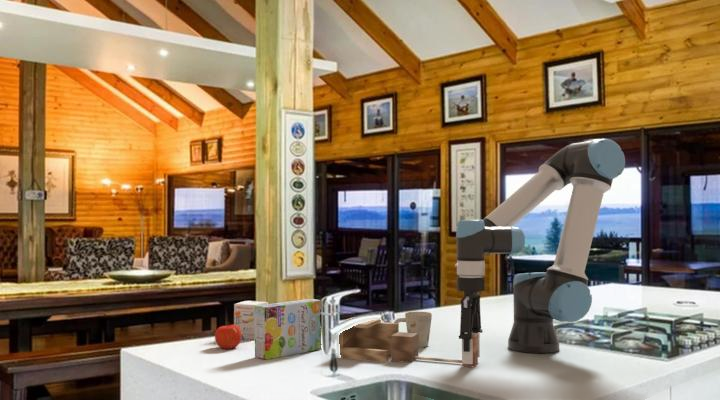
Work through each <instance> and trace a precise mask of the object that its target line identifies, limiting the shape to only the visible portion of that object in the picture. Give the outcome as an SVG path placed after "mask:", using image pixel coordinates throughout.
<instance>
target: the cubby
mask: <svg viewBox="0 0 720 400" xmlns="http://www.w3.org/2000/svg"><path fill="white" fill-rule="evenodd" d="M352 318H355V317H354V316H353V317H349V318H346V319H345V320H349V319H352ZM376 319H377V320H371V321H368V322H365V323H361V324H358V325H356V326H353V327H352V328H350V329H348V330H345V331H343V332H342V333H340V335H339V344H340V355H341V358H340V359H344V358H345V359H346V360H356V361H357V360H358V361H368V362H369V361H370V362H378V363H387V362H388V361H389V356H391V335H393V334H395V333H397V332H400V330H399V327H400V326H399V325H400V322H399V323H394V322H383V321H382V319H381V318H376ZM380 319H381V320H380ZM345 320H343V321H345Z"/></svg>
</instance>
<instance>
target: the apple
mask: <svg viewBox="0 0 720 400" xmlns="http://www.w3.org/2000/svg"><path fill="white" fill-rule="evenodd" d="M241 337H242V333H241V330H240V328H239V327H238V326H237V325H234V324H230V321H228V322H227V325H222V326H219V327H218V328H217V329H216V330H215V334H214V340H215V343H216V345H217V346H218V347H219V348H221V349H224V350H229V349H231V350H232V349H235V348H237V347H238V346H239V345H240V343H241V341H242V339H241Z"/></svg>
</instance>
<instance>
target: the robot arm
mask: <svg viewBox="0 0 720 400" xmlns="http://www.w3.org/2000/svg"><path fill="white" fill-rule="evenodd" d="M625 157H626V156H625V154H624V151H622V148H621V146H620V145H619V144H618V143H617V142H616V141H614V140H612V139H609V138H595V139H592V140H589V141H588V140H587V141H582V142H574V143H570V144H568V145H565V147H563V148H561V149H560V150H558V151H556V152H555V153H554V154H553V155H552V156H551V157H549V158H548V159H547V160H546V161H544V162H543V163H542V164H541V165H540V166H539V167H538V172H536V173H535V174H534V175H533V176H532V177H531V178H530V179H528V180H527V181H526V182H525V183H524V184H523V185H521V186H520V187H519V188H518V189H517V190H516V191H514V192H513V193H512V194H511V195H509V196H508V197H507V198H506V199H505V200H504V201H502V203H500V204H499V205H498V206H497V207H496V208H494V210H492V211H491V212H490V213H489V214H488V215H487V216H485V217H484V218H483V219H460V220H458V221H457V223H456V234H455V238H456V263H455V264H454V267H456V275H457V277H456V289H457V291H459V292H464V294H463V297H462V299H460V327H459V335H458V339H460V340H461V360H462V363H463V364H473V339H471V338H472V334H476V335H478V358H480V357H481V356H480V351H481V350H480V346H481V345H480V338H481V337H480V336H481V335H480V333H481V334H482V333H483V329H482V322H481V321H482V318H481V295H480V294H478V292H479V293H481V292H483V291H485V288H486V286H485V285H486V284H485V283H486V282H485V281H486V279H485V277H483V276H485V275H486V270H485V269H486V264H485V263H486V261H485V255H496V254H497V255H501V254H502V255H504V254H506V255H507V254H509V255H512V254H519V253H521V252H522V251H523V250H524V248H525V244H526V242H525V241H526V236H525V234H524V231H523V229H521V228H520V227H517V226H516V224H518V223H519V222H520V221H521V220H523V219H524V218H525V217H526V216H527V215H528V214H529V213H531V212H532V211H533V210H535V209H536V207H537V206H540V204H541V203H542V202H544V200H545V199H547V198H548V197H549V196H550V195H552V193H553V192H555V191H561V190H562V189H563V188H565V187H566V186H567V185H569V184H571V185H572V192H571V196H570V200H569V203H568V207H567V211H566V215H565V218H564V223H563V226H562V231H561V234H560V239H559V243H558V247H557V250H556V254H555V258H554V262H553V264H552V266H549V267H548V268H547V269H546V272H544V271H543V272H524V273H517V274H516V275H514V277H513V283H512V289H513V290H512V291H513V323H512V327H511V329H510V333H509V337H508V339H507V340H508V341H507V348H508V349H509V350H513V351H515V352H516V351H517V352H523V353H532V354H547V353H548V354H549V353H556V352H558V351H560V341H559V338H558V335H557V332H556V328H555V326H554V320H555V321H558V322H560V323H564V322H565V323H575V322H578V321H579V320H581V319H583V318H584V317H585V316H586V315H588V313H589V312H590V309H591V307H592V302H593V297H592V296H593V295H592V294H591V290H590V288H589V286H588V282H589V278H588V276H587V275H586V272H585V271H586V266H587V264H588V259H589V255H590V251H591V246H592V242H593V238H594V234H595V232H596V231H595V230H596V227H597V222H598V219H599V218H598V217H599V213H600V210H601V205H602V201H603V197H604V194H605V193H607V192H608V191H610V190H611V188H612V184H613V181H614V180H613V179H616V178H617V177H619V176H620V175H622V174H623V172H624V169H625V168H626V167H625V166H626V158H625ZM462 363H461V364H462Z"/></svg>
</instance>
